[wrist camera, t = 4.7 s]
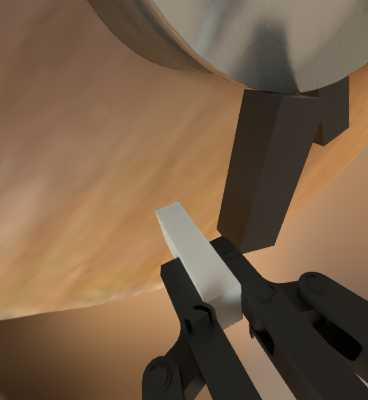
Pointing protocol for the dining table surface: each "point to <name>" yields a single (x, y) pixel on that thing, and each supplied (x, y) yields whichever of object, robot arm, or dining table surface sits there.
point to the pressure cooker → (179, 59)
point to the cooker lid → (269, 91)
